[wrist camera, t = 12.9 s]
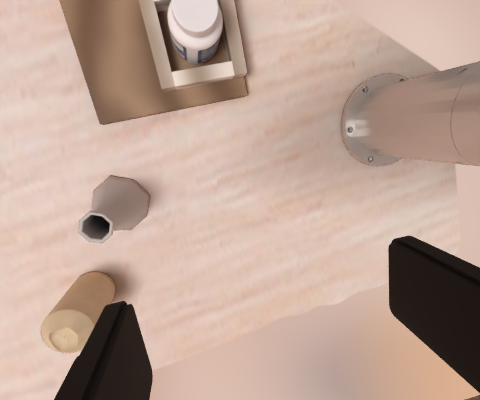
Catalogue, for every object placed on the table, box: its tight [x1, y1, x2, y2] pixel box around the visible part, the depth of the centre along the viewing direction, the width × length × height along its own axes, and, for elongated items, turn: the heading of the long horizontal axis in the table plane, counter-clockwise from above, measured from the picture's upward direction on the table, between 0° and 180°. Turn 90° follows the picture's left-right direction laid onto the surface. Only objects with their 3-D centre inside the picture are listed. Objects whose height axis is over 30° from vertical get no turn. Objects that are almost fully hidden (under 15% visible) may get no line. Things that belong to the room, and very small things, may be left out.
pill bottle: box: [167, 0, 223, 64], centre depth 27 cm, size 5×5×9 cm
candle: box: [40, 272, 115, 353], centre depth 33 cm, size 6×6×10 cm
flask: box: [78, 176, 150, 243], centre depth 31 cm, size 7×7×10 cm
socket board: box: [59, 0, 247, 125], centre depth 31 cm, size 18×14×4 cm
